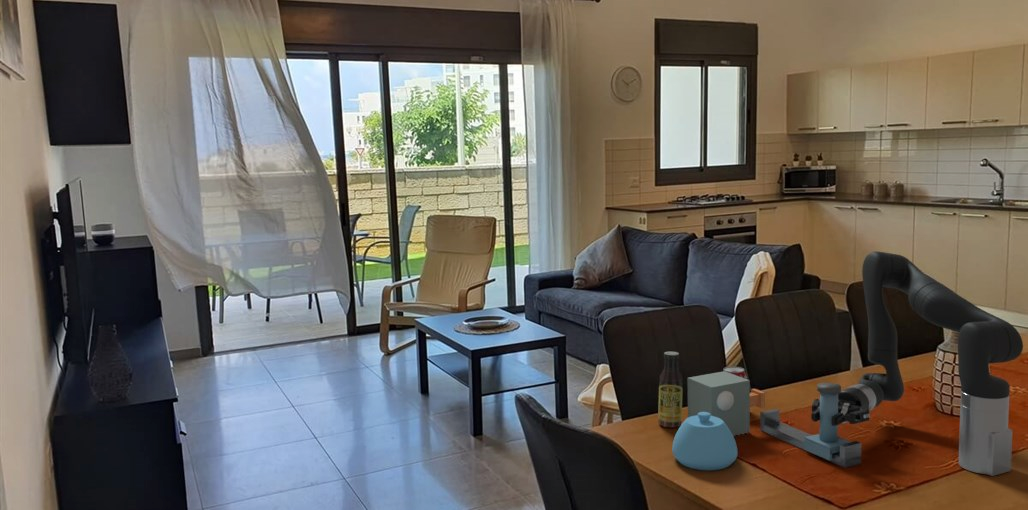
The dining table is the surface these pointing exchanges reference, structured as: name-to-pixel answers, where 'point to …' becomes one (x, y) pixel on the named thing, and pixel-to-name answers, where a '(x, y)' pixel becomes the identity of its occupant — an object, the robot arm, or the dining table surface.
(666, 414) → the sauce bottle
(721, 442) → the sugar bowl
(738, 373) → the soda can
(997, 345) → the robot arm
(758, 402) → the plunger
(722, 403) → the cabinet
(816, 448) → the carriage
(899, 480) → the dining table surface
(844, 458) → the rail
